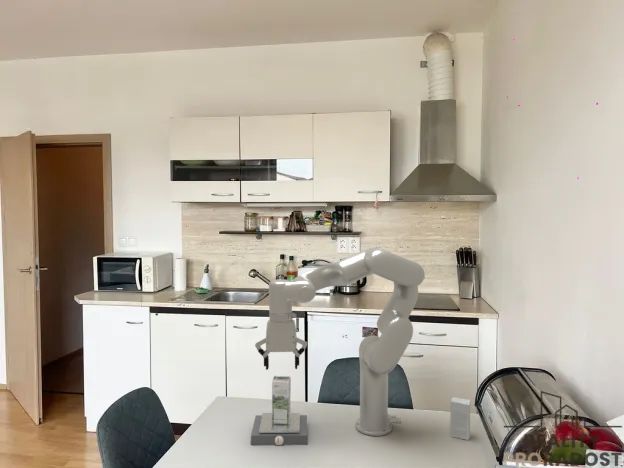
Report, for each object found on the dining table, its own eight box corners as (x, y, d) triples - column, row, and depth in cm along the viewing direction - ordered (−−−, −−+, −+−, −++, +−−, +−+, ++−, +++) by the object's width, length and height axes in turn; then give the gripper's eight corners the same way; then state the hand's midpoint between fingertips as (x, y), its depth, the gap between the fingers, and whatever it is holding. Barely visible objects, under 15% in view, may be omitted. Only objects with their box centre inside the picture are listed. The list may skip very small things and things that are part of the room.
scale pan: (299, 415, 152) (299, 412, 152) (299, 432, 140) (299, 429, 140) (262, 415, 152) (262, 412, 152) (259, 433, 140) (259, 429, 140)
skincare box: (470, 434, 146) (471, 399, 145) (469, 440, 142) (469, 404, 141) (451, 430, 148) (452, 396, 148) (449, 436, 144) (450, 401, 144)
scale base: (307, 423, 153) (307, 415, 153) (307, 445, 138) (307, 436, 138) (255, 423, 153) (255, 415, 153) (250, 446, 138) (250, 436, 138)
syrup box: (290, 417, 149) (290, 375, 148) (288, 425, 143) (289, 381, 142) (274, 416, 149) (274, 374, 148) (271, 424, 143) (271, 381, 142)
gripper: (306, 314, 148) (307, 363, 149) (255, 315, 148) (256, 364, 148) (307, 319, 140) (307, 371, 141) (253, 320, 140) (254, 372, 141)
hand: (281, 367), depth 145 cm, fingers open, 9 cm apart
